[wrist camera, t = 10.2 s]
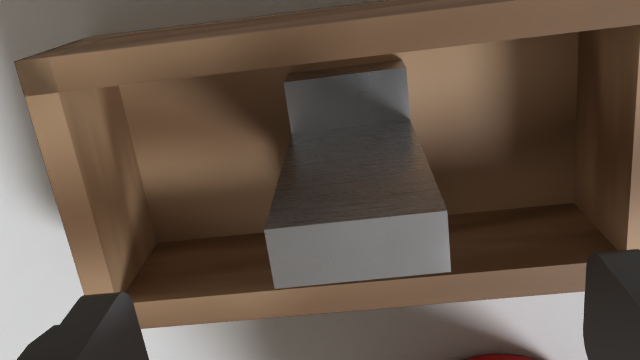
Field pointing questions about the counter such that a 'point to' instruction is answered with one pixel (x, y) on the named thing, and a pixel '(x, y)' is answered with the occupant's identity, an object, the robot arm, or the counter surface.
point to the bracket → (354, 183)
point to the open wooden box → (274, 134)
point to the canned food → (499, 357)
